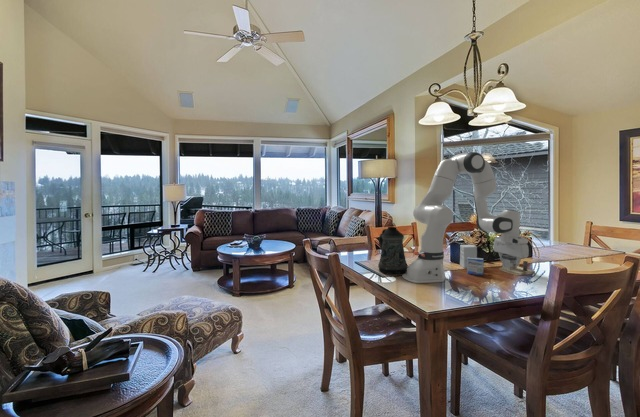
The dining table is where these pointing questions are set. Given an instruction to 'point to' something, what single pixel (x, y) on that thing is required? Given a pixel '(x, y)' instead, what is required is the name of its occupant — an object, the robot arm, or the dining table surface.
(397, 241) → the black tall carved piece
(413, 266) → the robot arm
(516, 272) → the pinboard
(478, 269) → the medicine box
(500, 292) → the dining table surface
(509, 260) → the sleeve
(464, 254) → the supplement box
